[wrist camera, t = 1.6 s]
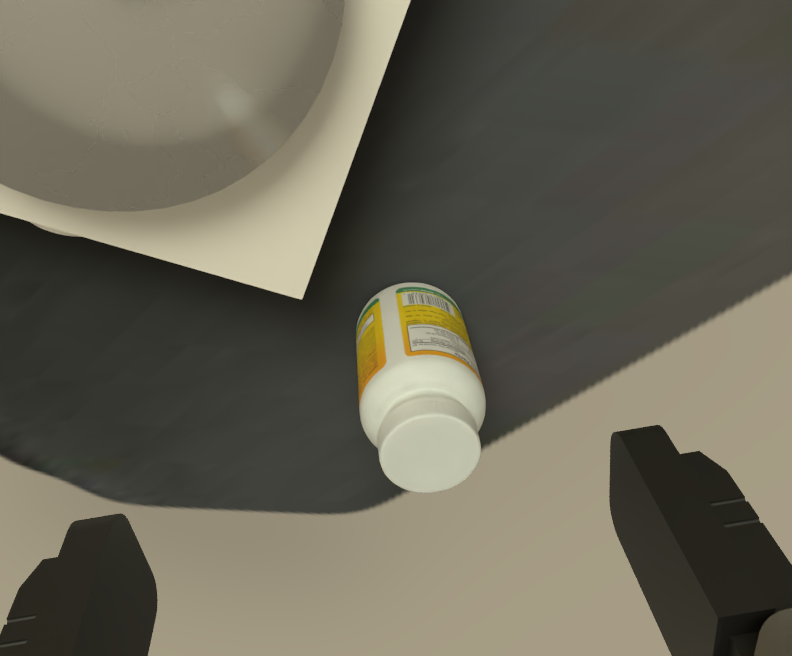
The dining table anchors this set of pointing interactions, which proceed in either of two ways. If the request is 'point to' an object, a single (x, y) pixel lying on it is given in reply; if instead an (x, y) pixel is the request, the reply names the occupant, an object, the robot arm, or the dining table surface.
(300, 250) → the scale base
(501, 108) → the dining table surface
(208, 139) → the scale pan
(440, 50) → the dining table surface
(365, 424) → the supplement bottle
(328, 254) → the dining table surface
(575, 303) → the dining table surface
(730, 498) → the robot arm
